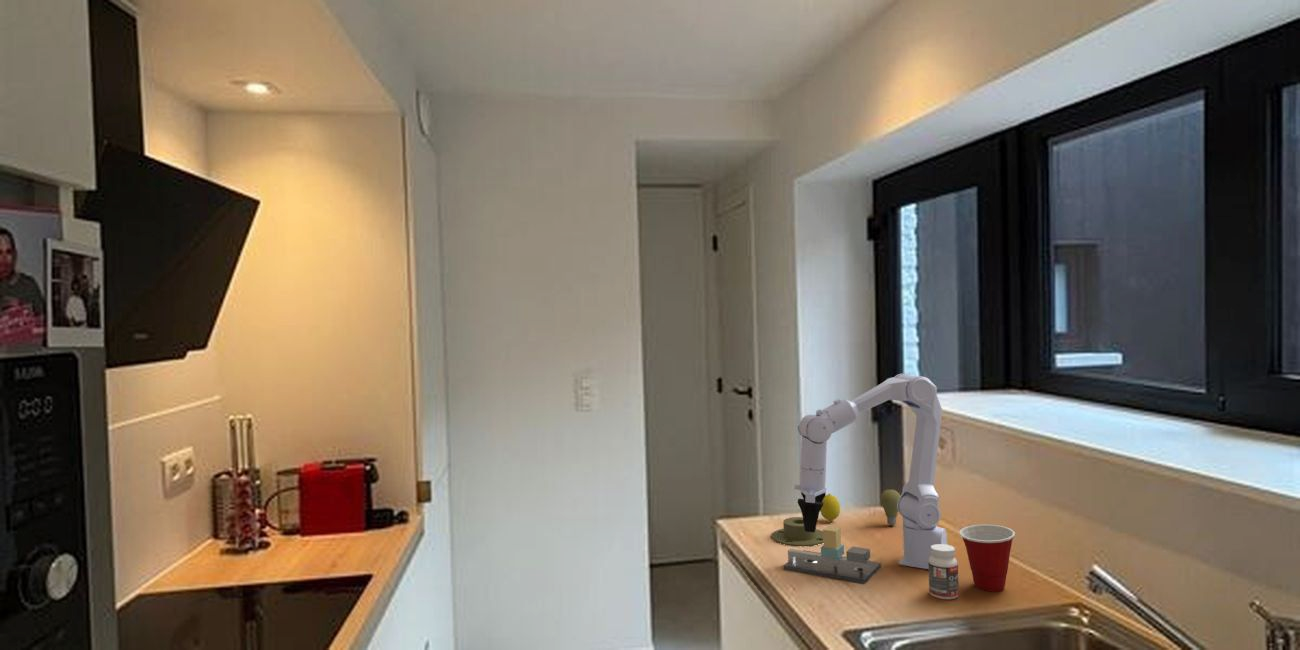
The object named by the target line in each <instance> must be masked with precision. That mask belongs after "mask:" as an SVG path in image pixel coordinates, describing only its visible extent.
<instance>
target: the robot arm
mask: <svg viewBox="0 0 1300 650" xmlns="http://www.w3.org/2000/svg"><path fill="white" fill-rule="evenodd" d="M937 392H938V387H937V386H936V385H935V384H934V383H933V381H932V380H930V379H929V378H928V377H925V376H924V375H923V376H918V375H911V374H908V373H899V374H896V375H895V376H894V377H888V378H886V380H884V381H883V382H881V383H880V384H877V385H875V386H874V387H873V388H871V389H869V390H867V391H866V392H864V393H861V394H860V395H859V396H857V397H856V398H854V399H852V400H848V399H845V398H843V399H840V398H837V399H835V400H833V404H831V405H829V406H827V407H825V408H823V409H817V410H816V411H815V413H816V414H807V415H805V416H804V417H802V418H801V420H800V422H799V425H797V431H798V433H799V435H800V437H801V445H800V446H801V447H800V462H799V463H800V468H799V469H800V470H799V471H800V472H799V473H800V474H799V484H795V485H794V490H799V491H800V493H801V497H802V498H798V499H797V504H798V507H799V508H800V511H801V514H802V515H801V517H803V523H804V529H805V531H806V532H815V529H817V525H818V520H819V514H820V513H821V512H820V510H821V508H822V506H823V504H824V502H822V501H823V499H824V497H825V496H826V495H827V494H826V493H827V488H826V480H827V479H826V473H827V450H828V449H827V443H828V442H827V441H829V440H830V438H831V436H832V434H834V433H836V432H838V431H841V429H844V428H846V427H848V426H849V425H851V424H853V423H855V422H856V421H857V419H858V416H859V414H861V413H863V412H865V411H867V410H870V409H871V408H872V409H873V408H874V407H877V406H879V405H881V404H883V403H885V402H888V401H900V402H902V403H903V404H905V405H906V406H907V407H909V409H911V411H912V412H913V413H914V415H916V418H915V427H914V436H913V442H912V443H913V444H912V453H911V462H910V470H909V477H908V478H909V479H908V481H907V482H906V483H905V484H904V485H903V487H902V491H901V494H900V498H899V499H898V502H897V509H898V514H900V515H901V517H902V537H903V539H902V542H903V544H902V548H903V557H902V558H901V559H900V560H899V561H898V563H897V564H898V565H899V566H900V565H901V566H907V567H910V568H911V567H912V568H919V569H925V570H929V566H928V560H929V558H930V556H932V553H931V546H932V545H935V544H946V545H948V535H947V534H948V533H947V530H946V528H943V527H939V526H937V525H938V523H940V520H941V517H942V513H941V509H940V506H939V503H940V501H939V500H940V497H939V494H938V492H937V491H936V489H935V486H934V484H935V477H936V476H935V475H936V467H937V459H938V451H939V442H940V434H941V426H942V425H941V424H942V418H943V417H942V416H943V408H942V406H941V403H940V400H939V397H938V393H937Z"/></svg>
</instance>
